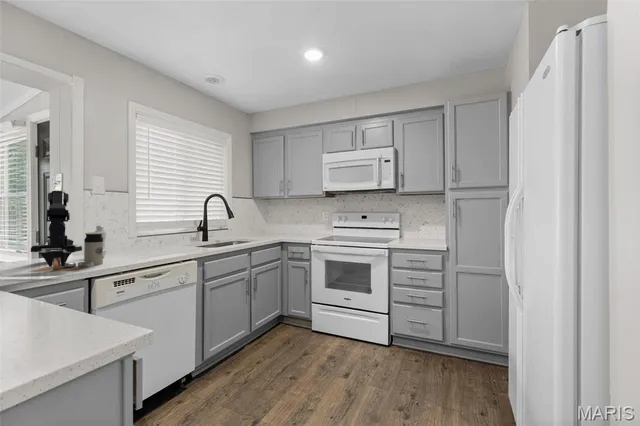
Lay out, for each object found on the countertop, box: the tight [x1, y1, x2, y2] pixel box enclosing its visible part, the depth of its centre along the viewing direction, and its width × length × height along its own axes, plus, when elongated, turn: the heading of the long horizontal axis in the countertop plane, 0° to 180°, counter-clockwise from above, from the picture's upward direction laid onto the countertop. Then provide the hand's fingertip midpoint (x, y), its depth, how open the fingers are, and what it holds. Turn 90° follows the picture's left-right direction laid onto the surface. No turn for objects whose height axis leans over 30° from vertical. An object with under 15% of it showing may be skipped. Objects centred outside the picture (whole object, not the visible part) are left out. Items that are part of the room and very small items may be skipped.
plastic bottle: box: [94, 225, 107, 258], centre depth 193 cm, size 6×7×20 cm
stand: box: [27, 261, 95, 273], centre depth 148 cm, size 21×14×3 cm, turn 99°
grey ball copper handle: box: [52, 258, 77, 270], centre depth 148 cm, size 12×6×6 cm, turn 8°
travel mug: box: [83, 231, 104, 266], centre depth 161 cm, size 8×8×18 cm
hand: (56, 266), depth 144 cm, fingers open, 5 cm apart
